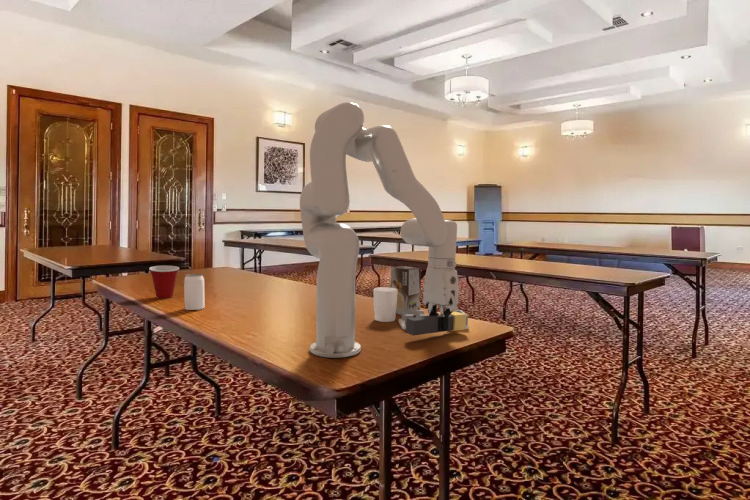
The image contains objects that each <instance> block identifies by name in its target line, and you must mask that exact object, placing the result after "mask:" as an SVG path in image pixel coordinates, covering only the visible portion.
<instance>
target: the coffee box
mask: <svg viewBox="0 0 750 500" xmlns="http://www.w3.org/2000/svg"><path fill="white" fill-rule="evenodd" d="M421 284H422V268H421V267H413V266H405V265H399V266H391V267H390V288H396V289H398V294H397V307H396V315H399V316H402V310H410V315H413V317H414V316H415V317H416V310H421V292H422V290H421V288H422V287H421V286H422V285H421Z"/></svg>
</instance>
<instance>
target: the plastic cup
mask: <svg viewBox="0 0 750 500" xmlns="http://www.w3.org/2000/svg"><path fill="white" fill-rule="evenodd" d="M179 270H180V267H179V266H176V265H175V266H174V265H155V266H150V267H149V271H150V274H151V277H152V281H153V286H154V287H153V288H154V290H155V291H154V292H155V296H156V298H157V297H158V298H157V299H169V298H168V297H171V298H173V297H172V296H174V292H175V288H176V281H177V280H176V279H177V275H178V271H179Z"/></svg>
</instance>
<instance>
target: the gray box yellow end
mask: <svg viewBox="0 0 750 500" xmlns="http://www.w3.org/2000/svg"><path fill="white" fill-rule="evenodd" d="M466 314H467V313H465V314H463V313H459V312H456V311H454V312H452V313H451V314H450V316H449V317H448V330H446V331H438V322H439V317H441V316H440V314H439V315H434V316H429V315H428V316H424V317H416V316H415V317H414V316H413V318H407V320H406V329H405V334H409V335H411V336H413V337H414V336H420V335H421V336H422V335H427V334H435V333H442V332H444V333H445V332H450V331H454V332H455V331H463V330H466V329H465V325H466Z"/></svg>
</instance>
